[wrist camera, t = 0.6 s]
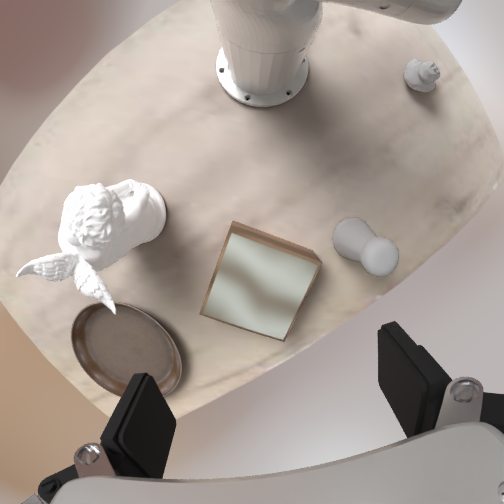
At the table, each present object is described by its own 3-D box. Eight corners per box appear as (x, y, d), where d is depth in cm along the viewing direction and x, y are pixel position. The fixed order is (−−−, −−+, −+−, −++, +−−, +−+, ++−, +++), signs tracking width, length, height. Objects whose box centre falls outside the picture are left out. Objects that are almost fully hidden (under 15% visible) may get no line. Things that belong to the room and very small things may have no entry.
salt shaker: (337, 260, 42) (369, 295, 30) (321, 226, 41) (351, 249, 28) (371, 242, 41) (413, 269, 29) (356, 208, 40) (398, 223, 28)
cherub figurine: (159, 168, 39) (76, 165, 18) (196, 247, 42) (150, 318, 21) (93, 206, 40) (-8, 237, 19) (128, 278, 43) (52, 355, 22)
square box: (232, 220, 41) (229, 228, 35) (312, 250, 42) (322, 263, 36) (205, 296, 44) (199, 315, 37) (280, 321, 45) (284, 343, 39)
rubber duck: (391, 71, 35) (416, 55, 27) (417, 58, 34) (443, 43, 26) (411, 100, 36) (439, 90, 28) (435, 86, 35) (464, 75, 27)
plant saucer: (209, 348, 46) (207, 360, 43) (148, 406, 50) (143, 417, 47) (109, 268, 43) (100, 275, 40) (65, 342, 47) (57, 350, 43)
